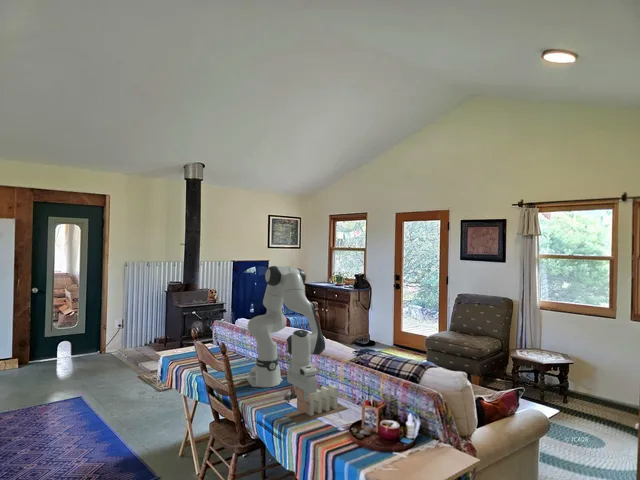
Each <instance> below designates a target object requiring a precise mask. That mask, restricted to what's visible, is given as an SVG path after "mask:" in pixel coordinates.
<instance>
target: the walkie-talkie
mask: <svg viewBox="0 0 640 480" xmlns="http://www.w3.org/2000/svg"><path fill="white" fill-rule="evenodd" d="M286 399H287V403H288V404H289V403H291V400H293V399H297V395H295V389H294V385H292V386H291V388H290V390H289V391H287V394H286Z"/></svg>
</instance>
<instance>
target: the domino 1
mask: <svg viewBox="0 0 640 480" xmlns="http://www.w3.org/2000/svg"><path fill="white" fill-rule="evenodd" d="M303 395H304V390H302V389H300V388H298V387H297V398H296V411H298V410H299V411H300V412H302V413H305V412H306V400H304V399H303Z"/></svg>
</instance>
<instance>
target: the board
mask: <svg viewBox="0 0 640 480" xmlns="http://www.w3.org/2000/svg"><path fill="white" fill-rule="evenodd" d="M346 410H349V408H348V407H346V406H344V405H343V404H340V403H339V402H337V409H333V408H331V407H330V411H325V410H323V409H322V413H317V412H315V411H314V415H312V416H310V415H308V414H307V413H302V412H300V411H299V410H295V411H291V412H287V413H284V414H283V415H284V416H285V417H287V418H288V419H290V420H291V421H293V422H295V424H297V425H298V424H301V423H305V422H308V421H311V420H315V419H319V418H322V417H326V416H329V415H333V414H336V413H339V412H343V411H346Z"/></svg>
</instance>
